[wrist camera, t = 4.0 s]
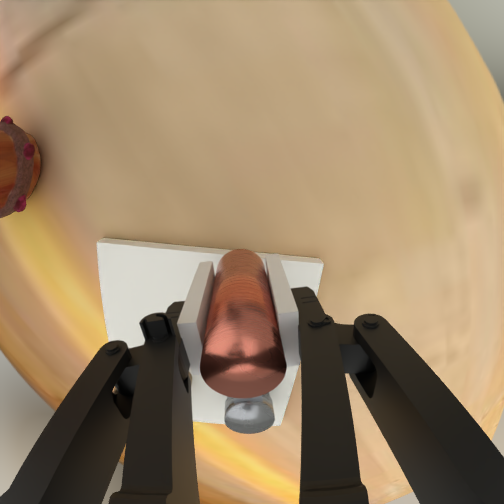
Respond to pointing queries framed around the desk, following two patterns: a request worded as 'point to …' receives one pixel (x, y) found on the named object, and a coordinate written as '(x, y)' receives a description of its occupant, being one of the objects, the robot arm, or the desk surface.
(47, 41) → the desk surface
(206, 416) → the bench board
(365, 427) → the desk surface
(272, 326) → the lever
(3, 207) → the mug
